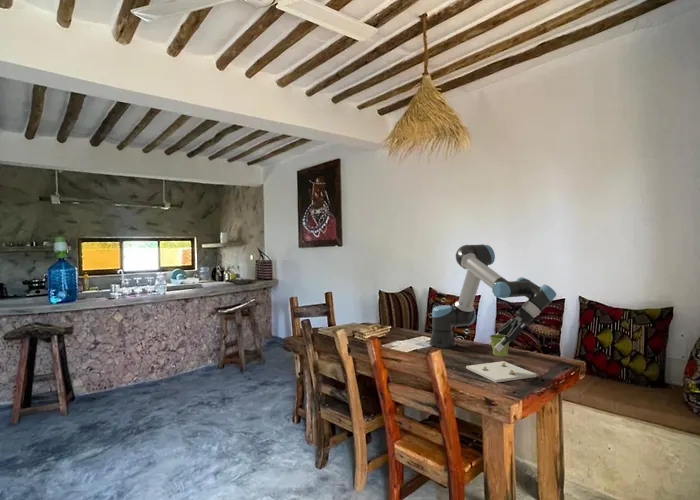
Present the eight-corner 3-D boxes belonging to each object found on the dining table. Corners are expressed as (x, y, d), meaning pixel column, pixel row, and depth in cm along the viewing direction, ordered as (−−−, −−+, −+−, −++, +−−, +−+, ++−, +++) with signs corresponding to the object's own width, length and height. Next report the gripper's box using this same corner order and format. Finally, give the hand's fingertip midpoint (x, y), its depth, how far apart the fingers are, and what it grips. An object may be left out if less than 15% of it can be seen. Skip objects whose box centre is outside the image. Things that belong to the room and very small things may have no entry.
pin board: (466, 368, 197) (466, 362, 197) (503, 363, 203) (503, 358, 203) (495, 382, 176) (495, 376, 176) (536, 376, 183) (536, 370, 183)
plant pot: (502, 351, 195) (501, 333, 195) (515, 356, 186) (515, 337, 186) (485, 353, 192) (485, 335, 192) (498, 358, 183) (498, 339, 183)
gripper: (543, 322, 177) (506, 358, 178) (524, 314, 199) (492, 346, 200) (530, 310, 177) (494, 346, 179) (513, 303, 199) (481, 336, 200)
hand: (493, 346), depth 189 cm, fingers closed on plant pot, 9 cm apart
